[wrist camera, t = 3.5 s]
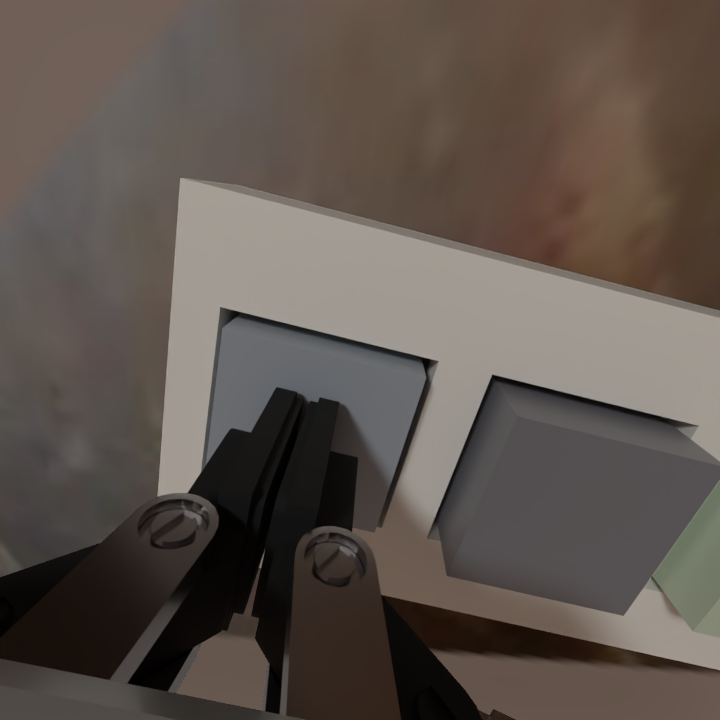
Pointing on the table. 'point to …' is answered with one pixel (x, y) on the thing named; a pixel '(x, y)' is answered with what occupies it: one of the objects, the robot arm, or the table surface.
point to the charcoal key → (569, 496)
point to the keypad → (437, 370)
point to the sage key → (696, 570)
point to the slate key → (322, 395)
